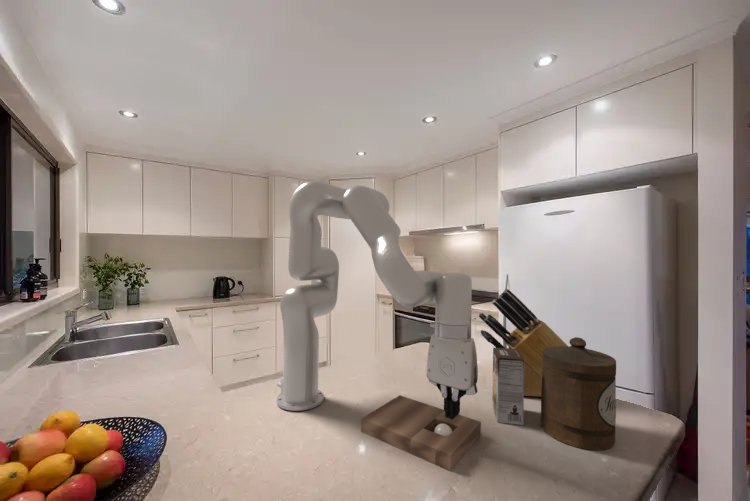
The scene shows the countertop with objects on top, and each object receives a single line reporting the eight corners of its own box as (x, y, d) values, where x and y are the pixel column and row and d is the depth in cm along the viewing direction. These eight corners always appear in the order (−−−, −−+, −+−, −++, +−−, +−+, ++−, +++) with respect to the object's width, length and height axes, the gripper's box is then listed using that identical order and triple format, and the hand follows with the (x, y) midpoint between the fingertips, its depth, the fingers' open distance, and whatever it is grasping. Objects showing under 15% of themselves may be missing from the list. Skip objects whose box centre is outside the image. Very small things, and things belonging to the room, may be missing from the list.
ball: (428, 439, 72) (434, 422, 72) (436, 433, 75) (442, 417, 75) (444, 451, 69) (451, 433, 69) (451, 445, 73) (458, 428, 73)
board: (361, 431, 76) (361, 418, 76) (399, 406, 89) (399, 395, 89) (450, 471, 63) (450, 455, 63) (480, 435, 76) (480, 421, 76)
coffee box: (491, 405, 90) (492, 346, 90) (516, 408, 89) (517, 348, 89) (496, 422, 81) (497, 357, 81) (524, 425, 80) (525, 359, 80)
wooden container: (625, 457, 68) (627, 350, 68) (545, 442, 73) (546, 342, 73) (604, 423, 82) (605, 333, 82) (537, 412, 87) (538, 328, 87)
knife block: (476, 380, 108) (477, 285, 108) (592, 387, 104) (593, 288, 104) (483, 395, 97) (484, 289, 97) (614, 403, 93) (615, 292, 93)
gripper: (413, 328, 73) (412, 412, 73) (481, 340, 64) (479, 435, 64) (430, 322, 79) (429, 400, 79) (493, 332, 70) (492, 420, 70)
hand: (451, 415), depth 71 cm, fingers closed
